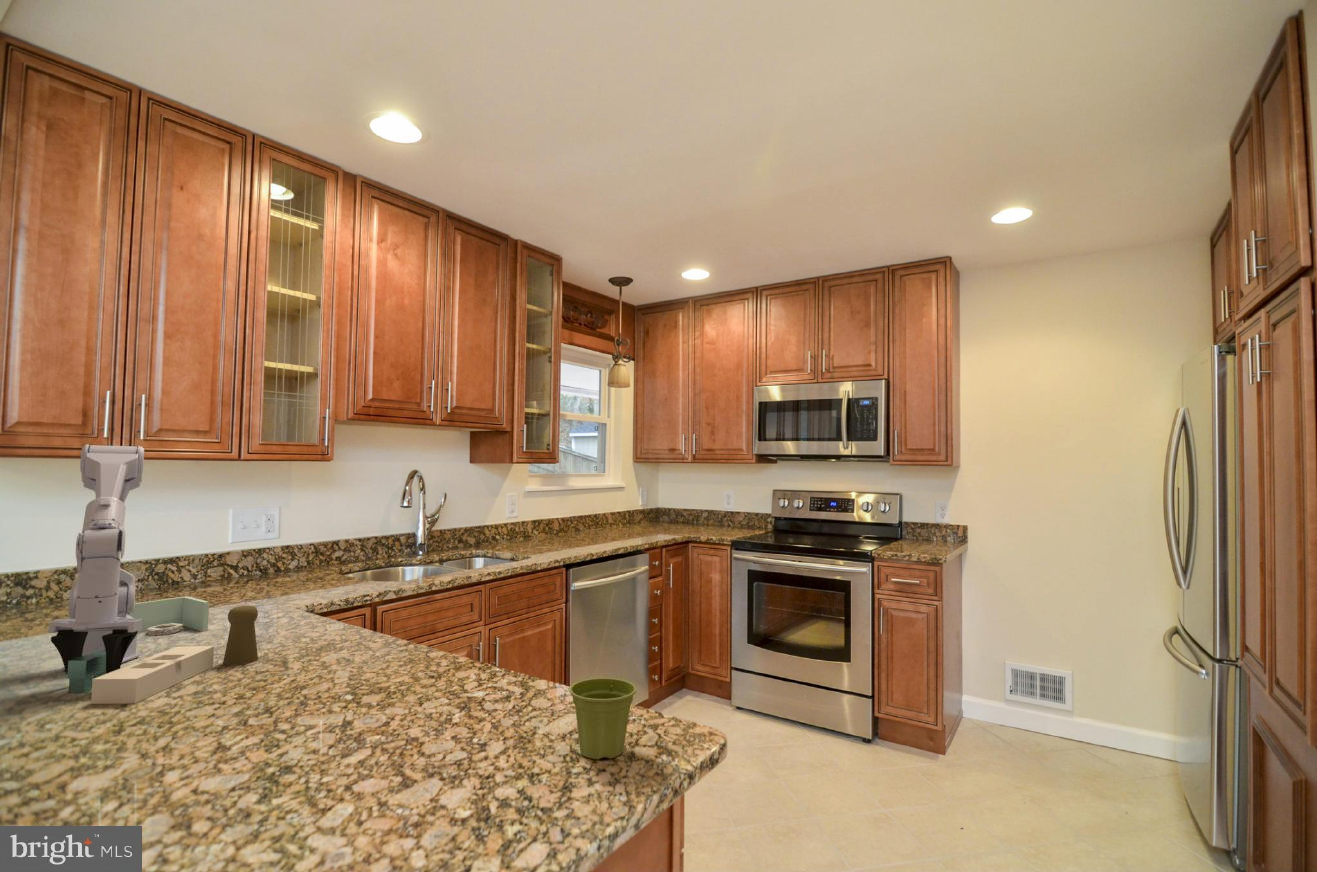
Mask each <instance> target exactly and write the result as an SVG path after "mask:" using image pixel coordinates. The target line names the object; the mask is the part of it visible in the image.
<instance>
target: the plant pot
mask: <svg viewBox="0 0 1317 872" xmlns="http://www.w3.org/2000/svg"><path fill="white" fill-rule="evenodd" d="M568 692H569V694H570V696H572V701H573V704H574V708H575V717H576V725H577V735H578V743H579V744H578V746H579V751H580V754H581V755H582V756H583V757H586V758H589V759H592V760H600V759H602V758H608V759H613V758H616V757H618V756H620V755H622V753H623V752H624V750H625V749H624V748H625V742H626V736H627V729H628V722H629V718H630V717H629V716H630V711H631V710H630V709H631V704H632V703H633V701H634V695H635V694H636V693H637V686H636V684H635V683H632V682H630V681H628V680H626V679H622V678H621V679H620V678H615V677H613V678H612V677H595V678H588V679H587V678H586V679H583V680H579V681H576V682H574V683H572V684H571V685H570V687H569V691H568Z"/></svg>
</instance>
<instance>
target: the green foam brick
mask: <svg viewBox="0 0 1317 872" xmlns="http://www.w3.org/2000/svg"><path fill="white" fill-rule="evenodd" d="M105 674H107V673H106V651H105V650H99V651H96V652H93V653H90V654H87V655H84V656H81V657H78V658H75V659H72V660H69V661H68V674H66V675H67V676H66V678H67V679H68V691H67V692H68V693H69V694H70V693H72V694H73V693H74V694H75V693H76V694H77V693H86V692H90V691H92V682H93V679H94V678H97V677H100V676H102V675H105Z"/></svg>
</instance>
